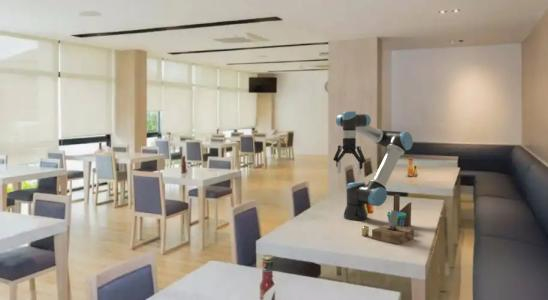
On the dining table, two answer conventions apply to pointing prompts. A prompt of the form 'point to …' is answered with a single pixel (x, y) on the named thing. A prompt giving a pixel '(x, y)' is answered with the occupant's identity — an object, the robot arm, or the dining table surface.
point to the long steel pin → (393, 220)
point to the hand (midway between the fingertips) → (349, 173)
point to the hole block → (393, 234)
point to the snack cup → (398, 218)
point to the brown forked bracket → (405, 210)
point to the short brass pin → (365, 231)
